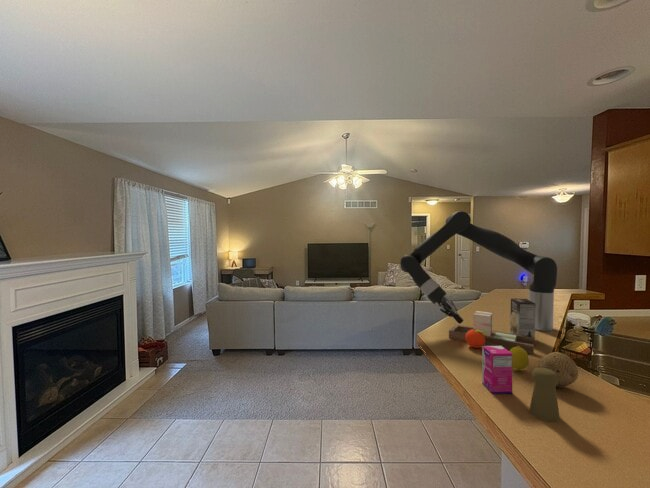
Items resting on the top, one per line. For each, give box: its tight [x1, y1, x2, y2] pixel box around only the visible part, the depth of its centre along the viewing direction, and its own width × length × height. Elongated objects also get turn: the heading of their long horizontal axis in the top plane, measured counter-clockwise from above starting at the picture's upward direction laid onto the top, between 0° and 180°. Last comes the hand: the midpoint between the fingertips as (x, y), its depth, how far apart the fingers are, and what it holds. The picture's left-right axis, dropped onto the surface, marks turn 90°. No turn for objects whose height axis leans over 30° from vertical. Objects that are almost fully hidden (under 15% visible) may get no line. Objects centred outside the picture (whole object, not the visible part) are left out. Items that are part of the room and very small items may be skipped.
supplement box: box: [481, 345, 513, 395], centre depth 86 cm, size 6×6×12 cm
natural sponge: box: [538, 351, 579, 389], centre depth 87 cm, size 9×9×10 cm
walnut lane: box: [448, 324, 536, 355], centre depth 124 cm, size 11×30×3 cm, turn 54°
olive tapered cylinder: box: [528, 367, 561, 423], centre depth 74 cm, size 6×6×11 cm
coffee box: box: [509, 297, 536, 337], centre depth 127 cm, size 9×6×16 cm
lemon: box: [508, 346, 530, 372], centre depth 97 cm, size 6×6×8 cm
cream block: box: [473, 310, 493, 336], centre depth 125 cm, size 6×6×8 cm
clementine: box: [465, 329, 488, 349], centre depth 117 cm, size 8×7×7 cm
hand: (461, 322), depth 130 cm, fingers closed
